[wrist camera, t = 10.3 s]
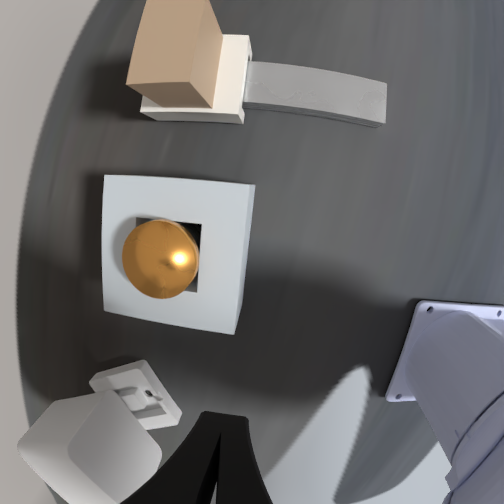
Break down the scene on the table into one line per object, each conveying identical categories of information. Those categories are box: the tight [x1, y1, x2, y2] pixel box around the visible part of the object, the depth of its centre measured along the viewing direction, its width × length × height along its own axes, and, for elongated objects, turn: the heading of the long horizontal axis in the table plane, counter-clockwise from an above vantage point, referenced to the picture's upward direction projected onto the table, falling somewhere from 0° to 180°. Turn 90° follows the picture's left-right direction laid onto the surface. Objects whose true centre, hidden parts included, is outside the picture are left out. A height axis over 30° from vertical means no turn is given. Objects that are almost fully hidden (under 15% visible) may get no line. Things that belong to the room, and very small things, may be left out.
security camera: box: [17, 360, 182, 504], centre depth 16 cm, size 6×7×10 cm
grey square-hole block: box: [102, 175, 255, 335], centre depth 16 cm, size 7×7×4 cm
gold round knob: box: [122, 219, 202, 299], centre depth 15 cm, size 3×3×4 cm
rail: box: [242, 61, 387, 128], centre depth 15 cm, size 13×2×2 cm, turn 84°
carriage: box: [126, 0, 252, 124], centre depth 12 cm, size 5×4×7 cm
